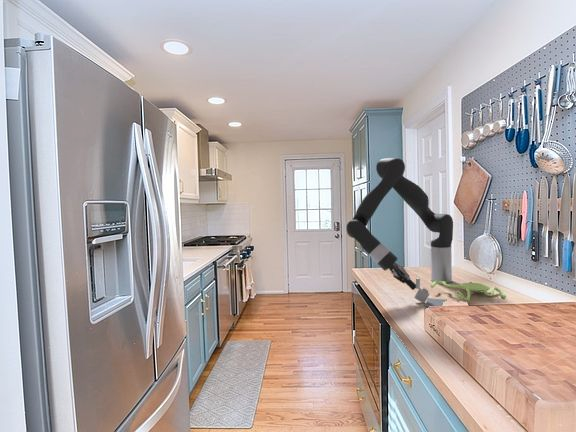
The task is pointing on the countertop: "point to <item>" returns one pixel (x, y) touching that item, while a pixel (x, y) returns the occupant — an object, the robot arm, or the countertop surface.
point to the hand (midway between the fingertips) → (415, 288)
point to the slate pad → (434, 302)
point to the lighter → (421, 292)
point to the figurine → (471, 289)
